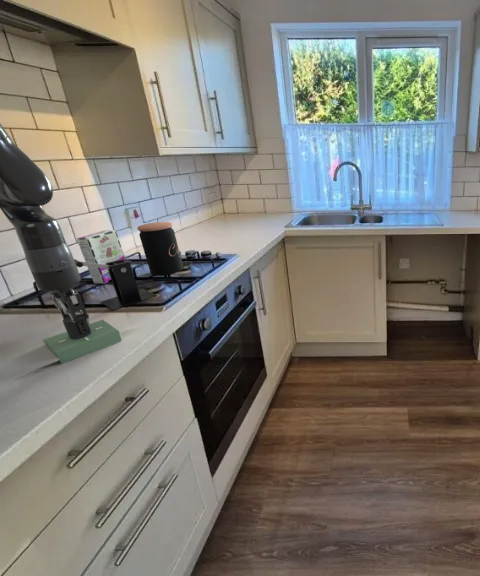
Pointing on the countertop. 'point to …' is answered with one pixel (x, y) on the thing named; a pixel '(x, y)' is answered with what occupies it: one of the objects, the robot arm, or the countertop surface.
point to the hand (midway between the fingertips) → (78, 329)
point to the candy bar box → (101, 253)
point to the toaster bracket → (125, 286)
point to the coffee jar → (160, 248)
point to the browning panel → (83, 342)
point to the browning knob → (73, 328)
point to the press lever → (92, 264)
